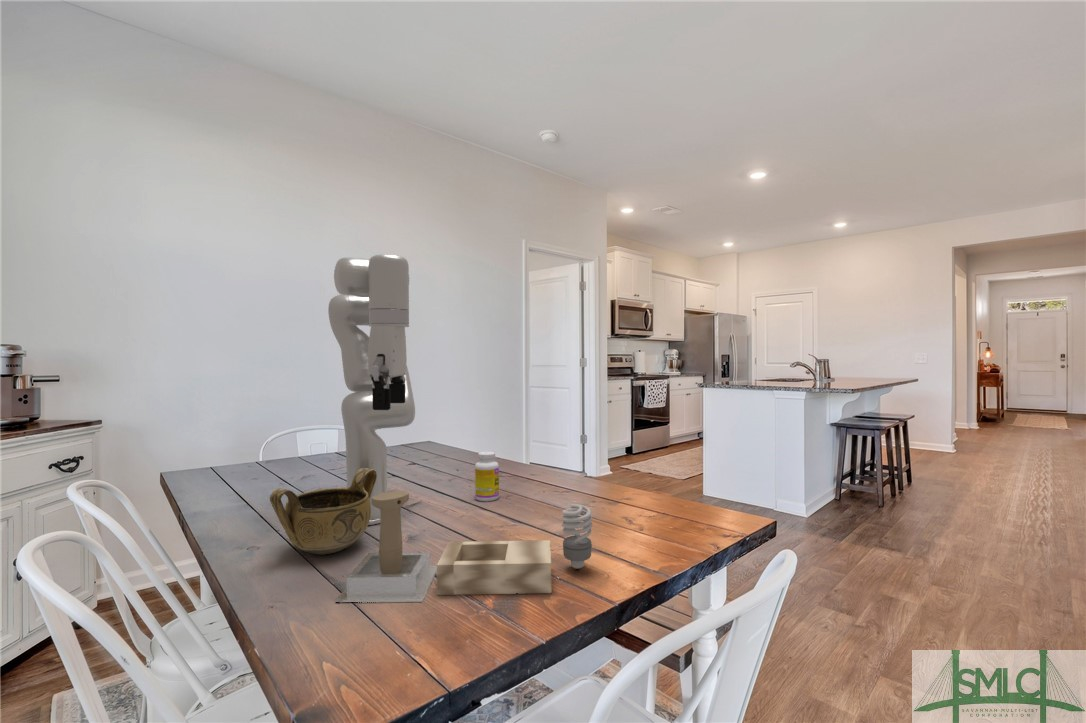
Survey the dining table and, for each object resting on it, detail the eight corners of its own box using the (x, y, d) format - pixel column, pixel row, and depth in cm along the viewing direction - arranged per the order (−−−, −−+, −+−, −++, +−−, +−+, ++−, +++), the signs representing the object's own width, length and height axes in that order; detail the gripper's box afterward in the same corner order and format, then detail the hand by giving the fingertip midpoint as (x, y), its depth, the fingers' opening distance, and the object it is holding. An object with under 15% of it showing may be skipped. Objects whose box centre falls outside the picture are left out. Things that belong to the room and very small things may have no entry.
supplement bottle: (497, 501, 137) (497, 455, 137) (473, 502, 137) (473, 455, 137) (500, 495, 144) (499, 450, 144) (477, 495, 144) (476, 451, 144)
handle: (414, 577, 89) (414, 493, 89) (383, 591, 84) (383, 501, 84) (397, 571, 92) (397, 489, 92) (366, 583, 86) (366, 497, 86)
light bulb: (560, 563, 95) (559, 500, 95) (589, 562, 95) (588, 499, 95) (564, 576, 89) (563, 509, 89) (595, 575, 90) (594, 508, 90)
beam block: (437, 594, 83) (436, 564, 83) (449, 568, 94) (448, 541, 94) (551, 593, 83) (550, 563, 83) (550, 566, 94) (550, 540, 94)
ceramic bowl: (352, 526, 118) (350, 463, 118) (399, 540, 109) (398, 471, 109) (253, 558, 100) (252, 483, 100) (300, 578, 90) (298, 495, 90)
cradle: (335, 603, 81) (335, 581, 81) (364, 569, 94) (364, 550, 94) (422, 601, 81) (421, 580, 81) (438, 568, 94) (438, 549, 94)
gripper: (384, 320, 107) (385, 400, 107) (352, 317, 89) (353, 412, 90) (419, 321, 106) (420, 401, 107) (394, 317, 89) (395, 413, 90)
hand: (389, 406), depth 99 cm, fingers open, 9 cm apart
